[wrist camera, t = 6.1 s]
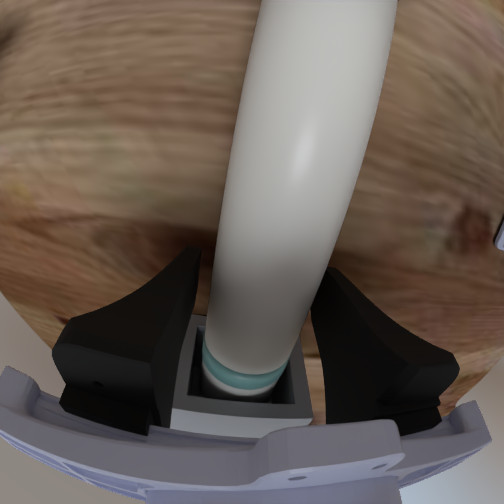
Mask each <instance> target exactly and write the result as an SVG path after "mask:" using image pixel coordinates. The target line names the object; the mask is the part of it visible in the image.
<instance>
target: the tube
mask: <svg viewBox="0 0 504 504" xmlns="http://www.w3.org/2000/svg"><path fill="white" fill-rule="evenodd" d="M397 2H398V0H262V1H261V6H260V10H259V14H258V18H257V23H256V27H255V31H254V36H253V40H252V45H251V50H250V54H249V59H248V64H247V69H246V73H245V78H244V83H243V88H242V93H241V98H240V104H239V109H238V114H237V120H236V125H235V130H234V136H233V142H232V147H231V153H230V159H229V165H228V171H227V177H226V183H225V189H224V195H223V202H222V208H221V215H220V222H219V228H218V235H217V242H216V249H215V257H214V264H213V272H212V279H211V287H210V295H209V303H208V312H207V320H206V328H205V331H204V337H203V347H202V367H201V378H200V387H201V391H202V394H203V396H204V397H205V398H210V399H218V400H227V401H238V402H251V403H267V401H268V399H269V397H270V395H271V393H272V391H273V389H274V387H275V385H276V383H277V381H278V379H279V377H280V376H281V375H282V373H283V371H284V369H285V367H286V365H287V363H288V360H289V358H290V356H291V353H292V349H293V347H294V345H295V342H296V340H297V338H298V336H299V333H300V331H301V329H302V327H303V324H304V322H305V320H306V317H307V315H308V312H309V310H310V308H311V305H312V303H313V300H314V298H315V296H316V293H317V291H318V288H319V286H320V283H321V281H322V278H323V275H324V273H325V270H326V268H327V265H328V262H329V260H330V257H331V254H332V252H333V249H334V246H335V244H336V241H337V238H338V235H339V232H340V229H341V227H342V224H343V221H344V218H345V215H346V212H347V209H348V206H349V203H350V200H351V197H352V194H353V191H354V188H355V184H356V181H357V178H358V175H359V171H360V168H361V165H362V161H363V158H364V155H365V151H366V148H367V144H368V140H369V137H370V133H371V129H372V126H373V122H374V118H375V114H376V110H377V106H378V102H379V98H380V94H381V89H382V85H383V80H384V76H385V71H386V66H387V61H388V56H389V51H390V46H391V40H392V35H393V29H394V23H395V16H396V9H397Z"/></svg>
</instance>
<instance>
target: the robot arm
mask: <svg viewBox="0 0 504 504" xmlns="http://www.w3.org/2000/svg"><path fill="white" fill-rule="evenodd" d="M495 246H496V247H497V248H498V249H500V250H503V251H504V221H503V224H502V226H501V228H500V231H499V233H498V235H497V237H496V240H495ZM200 258H201V248H198V247H191V246H186V247H185V248H184V249H183V250H182V251H181V252H180V253H179V255H178V256H177V257H176V258H175V259H174V260H173V261H172V262H171V263H170V264H169V265H167V266H166V267H165V268H164V269H163V270H162V271H161V272H160V273H159V274H157V275H156V276H155V277H154V278H153V279H151V280H150V281H149V282H147V283H146V284H145V285H143V286H142V287H140V288H139V289H137V290H136V291H134V292H133V293H131V294H129V295H127V296H125V297H124V298H122V299H120V300H118V301H116V302H114V303H112V304H110V305H107V306H105V307H103V308H100V309H98V310H95V311H92V312H89V313H86V314H83V315H80V316H76V317H73V318H71V319H70V320H69V322H68V323H67V324H66V326H65V327H64V329H63V331H62V332H61V334H60V336H59V338H58V340H57V342H56V344H55V346H54V347H53V349H52V357H53V360H54V363H55V365H56V367H57V369H58V371H59V372H60V374H61V376H62V378H63V380H64V382H65V383H66V386H65V388H64V391H63V393H62V396H61V398H58V397H56V396H53V395H51V394H48V393H46V392H44V391H41V390H40V388H39V386H38V384H37V383H36V382H35V381H34V379H32V378H31V377H30V376H28V375H26V374H24V373H22V372H20V371H18V370H16V369H14V368H11V367H10V366H6V367H5V368H4V371H3V372H2V374H1V376H0V436H1V437H2V438H3V439H5V440H6V441H7V442H8V443H10V444H11V445H12V446H13V447H15V448H16V449H18V450H20V451H22V452H23V453H25V454H27V455H29V456H31V457H32V458H34V459H36V460H38V461H40V462H42V463H44V464H46V465H48V466H50V467H52V468H54V469H56V470H59V471H61V472H63V473H65V474H67V475H70V476H72V477H74V478H77V479H79V480H81V481H84V482H87V483H89V484H92V485H95V486H97V487H100V488H102V489H106V490H108V491H112V492H115V493H118V494H121V495H124V496H127V497H131V498H135V499H138V500H142V501H146V502H145V504H402V501H401V496H400V491H399V489H400V488H403V487H406V486H409V485H411V484H414V483H417V482H419V481H421V480H424V479H427V478H429V477H431V476H434V475H436V474H438V473H441V472H443V471H445V470H447V469H450V468H452V467H454V466H456V465H458V464H459V463H461V462H462V461H464V460H466V459H467V458H469V457H470V456H472V455H473V454H475V453H476V452H478V451H479V450H481V449H482V448H484V447H485V446H487V445H488V444H489V443H491V442H492V438H491V436H490V434H489V431H488V428H487V426H486V423H485V421H484V419H483V416H482V414H481V411H480V409H479V407H478V405H477V402H476V401H471V402H467V403H464V404H462V405H459V406H458V407H456V408H455V409H454V410H453V411H451V412H450V413H449V415H447V416H444V417H441V416H440V413H439V411H438V408H437V406H439V405H440V403H441V402H440V400H439V396H440V395H441V394H442V393H443V392H444V391H445V390H446V389H447V388H448V387H449V386H450V385H451V384H452V383H453V382H454V380H455V379H456V377H457V376H458V374H459V370H460V367H459V365H458V363H457V361H456V359H455V357H454V355H453V354H452V353H451V352H448V351H446V350H444V349H441V348H439V347H437V346H435V345H432V344H430V343H429V342H427V341H425V340H423V339H421V338H419V337H418V336H416V335H414V334H413V333H411V332H409V331H408V330H406V329H405V328H403V327H402V326H400V325H399V324H397V323H396V322H395V321H393V320H392V319H391V318H390V317H388V316H387V315H386V314H384V313H383V312H382V311H381V310H380V309H379V308H377V307H376V306H375V305H374V304H373V303H372V302H371V301H370V300H369V299H368V298H367V297H365V296H364V295H363V294H362V293H361V292H360V291H359V290H358V289H357V288H356V287H355V286H354V285H353V284H352V283H351V282H350V281H349V280H348V279H347V278H346V277H345V276H344V275H343V274H342V273H341V272H340V271H339V270H337V269H336V268H332V267H327V268H326V270H325V273H324V275H323V278H322V281H321V283H320V286H319V288H318V291H317V293H316V296H315V298H314V300H313V303H312V305H311V308H310V311H311V320H312V324H313V328H314V333H315V337H316V341H317V345H318V349H319V353H320V357H321V362H322V367H323V376H324V386H325V402H326V425H305V426H296V427H286V428H283V429H279V430H276V431H272V432H270V433H268V434H267V435H265V436H264V437H262V438H246V437H231V436H220V435H210V434H202V433H194V432H187V431H181V430H175V429H170V423H171V414H172V406H173V398H174V391H175V384H176V377H177V371H178V365H179V359H180V353H181V349H182V345H183V342H184V338H185V335H186V331H187V328H188V325H189V321H190V318H191V315H192V311H193V308H194V304H195V299H196V293H197V287H198V278H199V268H200Z"/></svg>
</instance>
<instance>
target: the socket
mask: <svg viewBox="0 0 504 504" xmlns="http://www.w3.org/2000/svg"><path fill="white" fill-rule="evenodd" d="M206 320H207V316H201V315H194V314H192V315H191V318H190V321H189V325H188V328H187V331H186V335H185V338H184V342H183V345H182V349H181V353H180V359H179V365H178V371H177V377H176V384H175V391H174V398H173V406H172V414H171V423H170V429H175V430H181V431H187V432H194V433H202V434H210V435H220V436H231V437H246V438H262V437H264V436H265V435H267V434H268V433H270V432H272V431H276V430H279V429H283V428H286V427H296V426H305V425H308V424H309V423H310V422H311V421H312V420H313V412H312V406H311V399H310V393H309V387H308V381H307V375H306V369H305V364H304V358H303V352H302V347H301V341H300V336H298V338H297V340H296V342H295V345H294V347H293V349H292V353H291V356H290V358H289V360H288V363H287V365H286V367H285V369H284V371H283V373H282V375H281V376H280V377H279V379H278V381H277V383H276V385H275V387H274V389H273V391H272V393H271V395H270V397H269V399H268V401H267V403H251V402H238V401H227V400H218V399H210V398H205V397H204V396H203V394H202V391H201V387H200V378H201V367H202V347H203V337H204V331H205V328H206Z"/></svg>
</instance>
